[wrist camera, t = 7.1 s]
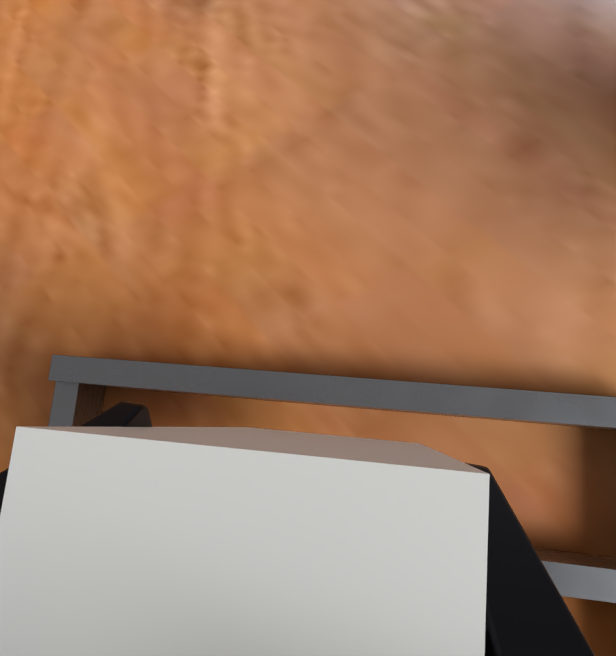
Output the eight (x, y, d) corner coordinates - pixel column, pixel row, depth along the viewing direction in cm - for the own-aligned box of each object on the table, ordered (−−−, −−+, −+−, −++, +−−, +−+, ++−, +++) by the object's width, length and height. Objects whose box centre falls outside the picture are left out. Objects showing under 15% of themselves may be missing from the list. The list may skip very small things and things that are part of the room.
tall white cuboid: (235, 533, 15) (-39, 730, 5) (247, 426, 15) (16, 426, 6) (414, 556, 14) (479, 836, 4) (419, 443, 15) (488, 473, 5)
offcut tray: (15, 817, 20) (-36, 871, 18) (87, 362, 23) (52, 354, 21) (674, 968, 16) (725, 1063, 14) (660, 406, 19) (699, 403, 17)
